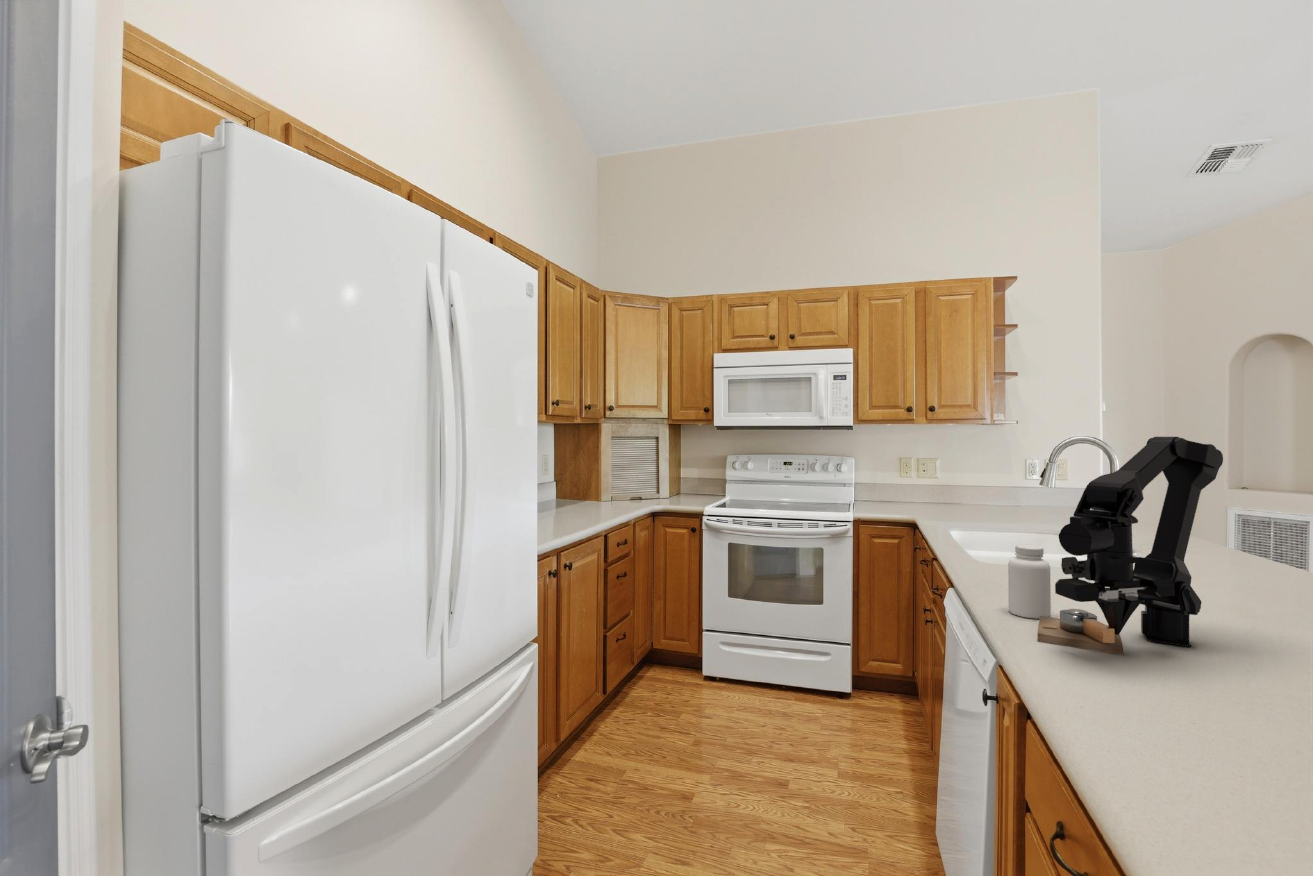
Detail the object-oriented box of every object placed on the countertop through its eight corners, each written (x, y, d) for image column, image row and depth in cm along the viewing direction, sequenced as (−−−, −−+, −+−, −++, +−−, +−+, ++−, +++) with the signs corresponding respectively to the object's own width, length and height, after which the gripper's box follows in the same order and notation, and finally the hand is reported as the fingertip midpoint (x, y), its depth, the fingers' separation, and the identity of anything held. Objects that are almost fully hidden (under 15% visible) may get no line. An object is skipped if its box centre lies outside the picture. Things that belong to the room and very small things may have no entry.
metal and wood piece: (1053, 623, 119) (1052, 606, 119) (1084, 623, 119) (1083, 606, 119) (1091, 643, 108) (1091, 625, 108) (1125, 644, 107) (1125, 625, 107)
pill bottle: (1050, 612, 132) (1049, 545, 132) (1051, 622, 125) (1050, 551, 125) (1008, 606, 136) (1008, 542, 136) (1007, 616, 130) (1007, 548, 129)
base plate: (1117, 634, 118) (1117, 625, 118) (1123, 654, 107) (1123, 644, 107) (1039, 622, 125) (1039, 614, 125) (1037, 641, 114) (1037, 631, 114)
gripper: (1123, 538, 117) (1125, 617, 117) (1033, 543, 116) (1035, 623, 116) (1176, 549, 106) (1179, 636, 106) (1077, 555, 104) (1080, 643, 105)
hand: (1115, 634), depth 108 cm, fingers closed
